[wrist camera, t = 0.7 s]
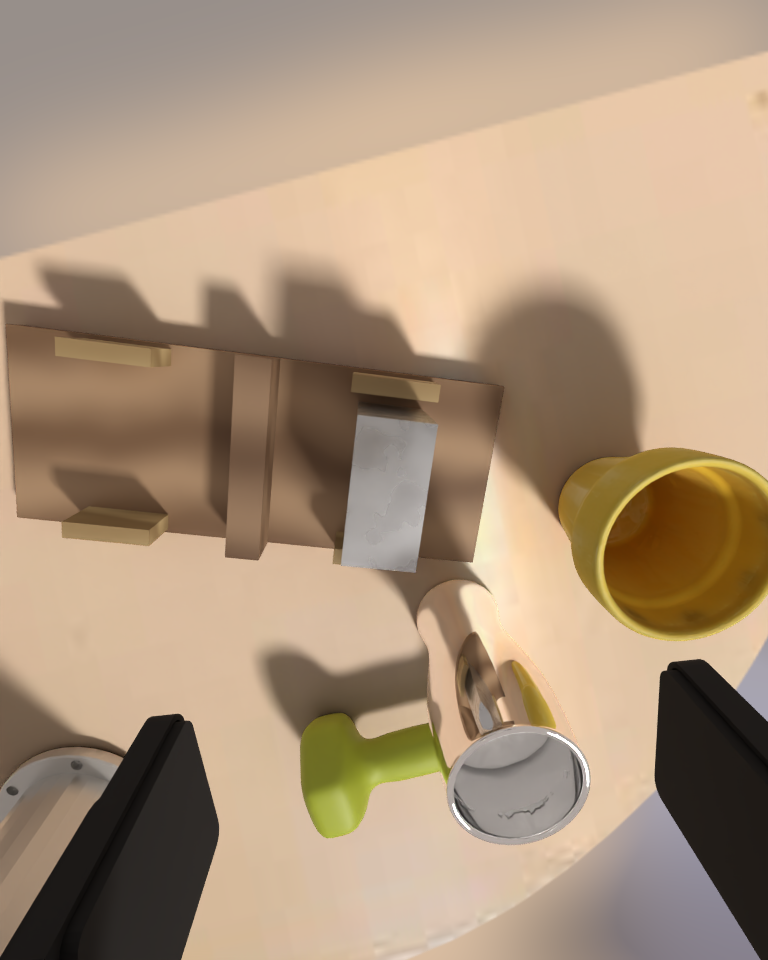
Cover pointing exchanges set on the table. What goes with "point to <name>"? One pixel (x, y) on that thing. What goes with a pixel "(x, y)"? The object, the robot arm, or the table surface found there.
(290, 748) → the table surface
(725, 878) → the robot arm
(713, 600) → the plant pot
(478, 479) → the board
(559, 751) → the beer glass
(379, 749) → the dumbbell
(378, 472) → the grey rectangular block
